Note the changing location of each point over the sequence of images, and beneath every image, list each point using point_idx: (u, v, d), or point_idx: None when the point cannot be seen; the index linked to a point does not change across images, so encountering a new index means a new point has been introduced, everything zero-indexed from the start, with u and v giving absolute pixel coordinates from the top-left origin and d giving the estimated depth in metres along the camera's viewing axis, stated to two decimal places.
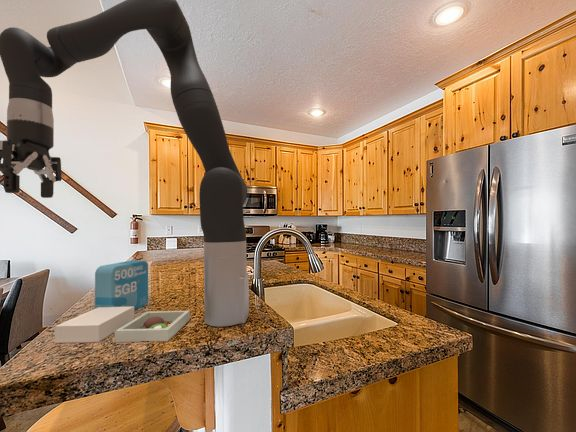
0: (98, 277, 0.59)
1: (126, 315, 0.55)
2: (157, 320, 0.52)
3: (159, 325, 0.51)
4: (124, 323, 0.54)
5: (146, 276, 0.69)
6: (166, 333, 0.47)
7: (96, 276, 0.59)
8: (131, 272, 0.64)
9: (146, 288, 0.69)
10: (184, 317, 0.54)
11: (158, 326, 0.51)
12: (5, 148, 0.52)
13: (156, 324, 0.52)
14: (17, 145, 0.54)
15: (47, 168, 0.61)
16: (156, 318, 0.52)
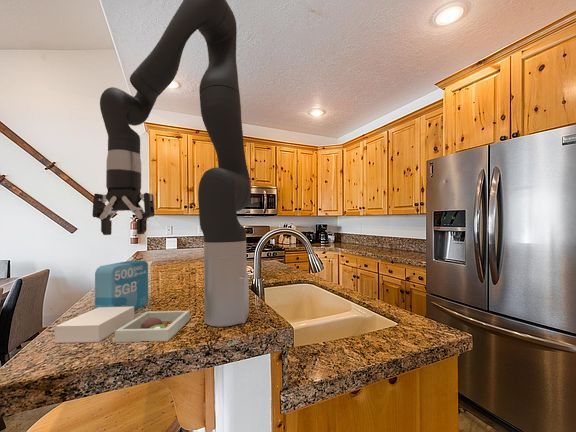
0: (98, 277, 0.59)
1: (126, 315, 0.55)
2: (155, 321, 0.51)
3: (158, 326, 0.51)
4: (124, 323, 0.54)
5: (146, 276, 0.69)
6: (166, 333, 0.47)
7: (96, 276, 0.59)
8: (131, 272, 0.64)
9: (146, 288, 0.69)
10: (184, 317, 0.54)
11: (157, 327, 0.50)
12: (153, 200, 0.67)
13: (154, 325, 0.51)
14: None
15: None
16: (154, 319, 0.52)
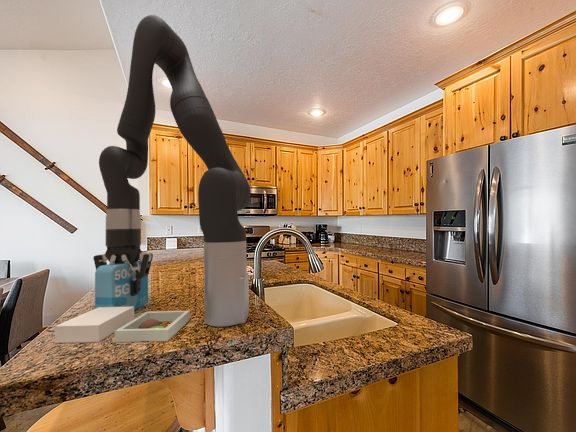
0: (98, 277, 0.59)
1: (126, 315, 0.55)
2: (154, 323, 0.51)
3: (157, 327, 0.50)
4: (124, 323, 0.54)
5: (146, 276, 0.69)
6: (166, 333, 0.47)
7: (96, 276, 0.59)
8: None
9: (146, 288, 0.69)
10: (184, 317, 0.54)
11: None
12: (151, 260, 0.66)
13: (153, 326, 0.50)
14: (141, 252, 0.66)
15: None
16: (152, 321, 0.51)
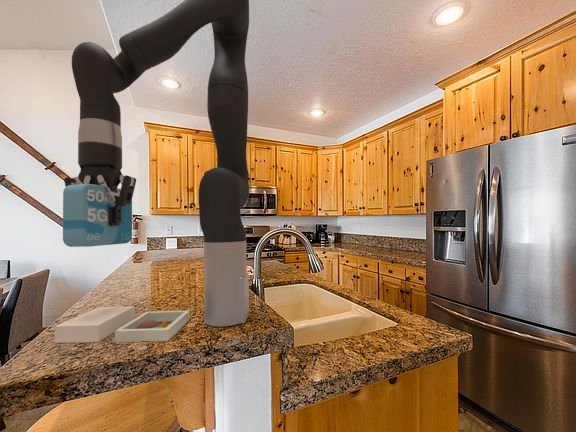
0: (67, 196, 0.48)
1: (126, 315, 0.55)
2: (153, 323, 0.50)
3: None
4: (124, 323, 0.54)
5: (129, 209, 0.59)
6: (166, 333, 0.47)
7: (64, 195, 0.48)
8: None
9: (129, 223, 0.58)
10: (184, 317, 0.54)
11: None
12: (134, 186, 0.55)
13: (152, 327, 0.50)
14: (122, 175, 0.55)
15: None
16: (151, 322, 0.50)
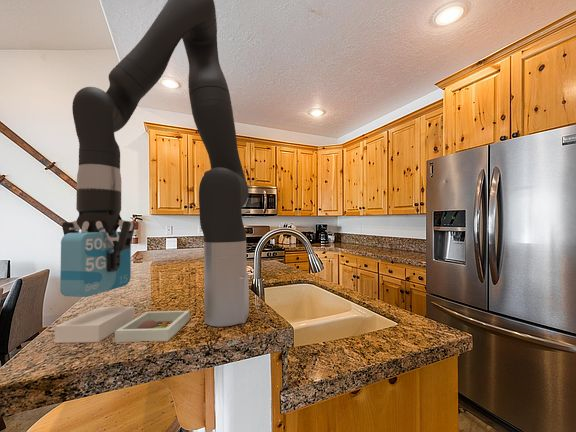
0: (65, 246, 0.47)
1: (126, 315, 0.55)
2: (153, 324, 0.50)
3: None
4: (124, 323, 0.54)
5: (128, 250, 0.58)
6: (166, 333, 0.47)
7: (62, 245, 0.48)
8: None
9: (128, 265, 0.58)
10: (184, 317, 0.54)
11: None
12: (133, 230, 0.54)
13: (153, 327, 0.50)
14: (121, 219, 0.54)
15: None
16: (152, 322, 0.50)
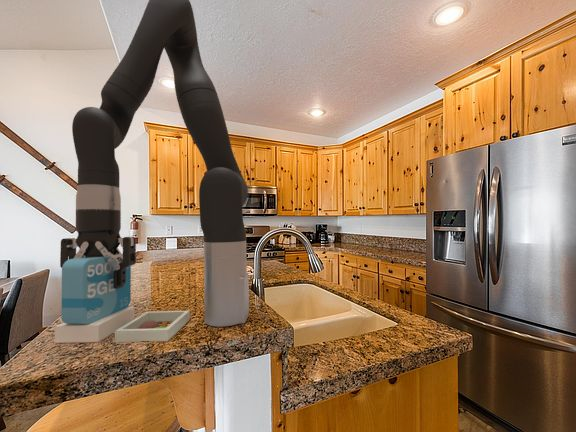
0: (66, 273, 0.47)
1: (126, 315, 0.55)
2: (154, 324, 0.50)
3: None
4: (124, 323, 0.54)
5: (128, 272, 0.58)
6: (166, 333, 0.47)
7: (63, 272, 0.47)
8: (109, 267, 0.53)
9: (128, 287, 0.58)
10: (184, 317, 0.54)
11: None
12: (135, 245, 0.54)
13: None
14: (120, 237, 0.54)
15: None
16: (152, 322, 0.50)
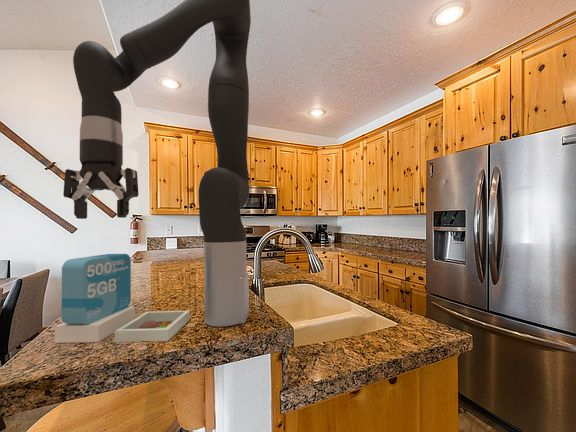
0: (66, 273, 0.47)
1: (126, 315, 0.55)
2: (155, 324, 0.50)
3: None
4: (124, 323, 0.54)
5: (128, 272, 0.58)
6: (166, 333, 0.47)
7: (63, 272, 0.47)
8: (109, 267, 0.53)
9: (128, 287, 0.58)
10: (184, 317, 0.54)
11: None
12: (137, 178, 0.56)
13: (155, 327, 0.49)
14: None
15: None
16: (152, 322, 0.50)
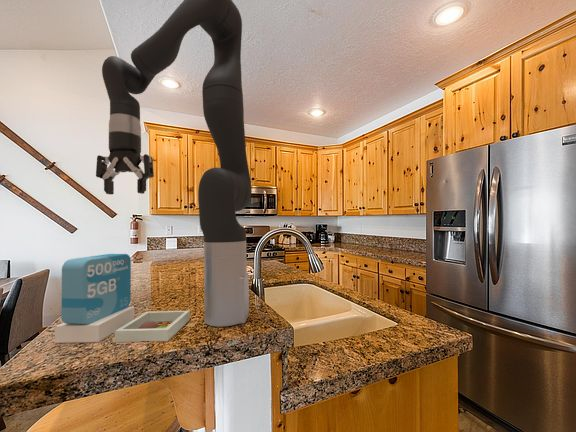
0: (66, 273, 0.47)
1: (126, 315, 0.55)
2: (154, 324, 0.50)
3: None
4: (124, 323, 0.54)
5: (128, 272, 0.58)
6: (166, 333, 0.47)
7: (63, 272, 0.47)
8: (109, 267, 0.53)
9: (128, 287, 0.58)
10: (184, 317, 0.54)
11: None
12: (152, 162, 0.71)
13: None
14: None
15: None
16: (152, 322, 0.50)
